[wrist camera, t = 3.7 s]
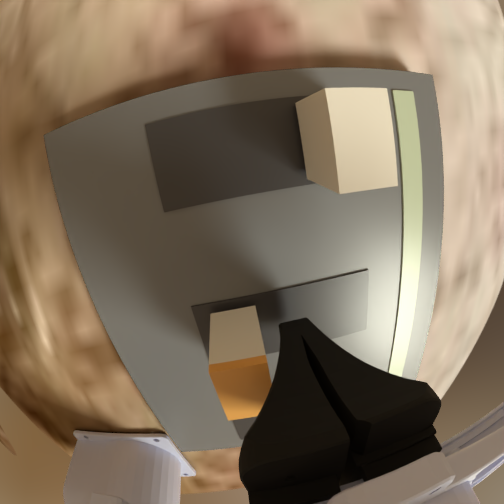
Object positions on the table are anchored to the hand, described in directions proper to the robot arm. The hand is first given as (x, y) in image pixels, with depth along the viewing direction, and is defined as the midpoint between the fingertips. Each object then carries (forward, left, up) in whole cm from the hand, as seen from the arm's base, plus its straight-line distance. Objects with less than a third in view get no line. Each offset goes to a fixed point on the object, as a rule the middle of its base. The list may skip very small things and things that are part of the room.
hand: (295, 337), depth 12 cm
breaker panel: (0, 0, -3) cm, 3 cm away
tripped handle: (-2, 0, -1) cm, 3 cm away
